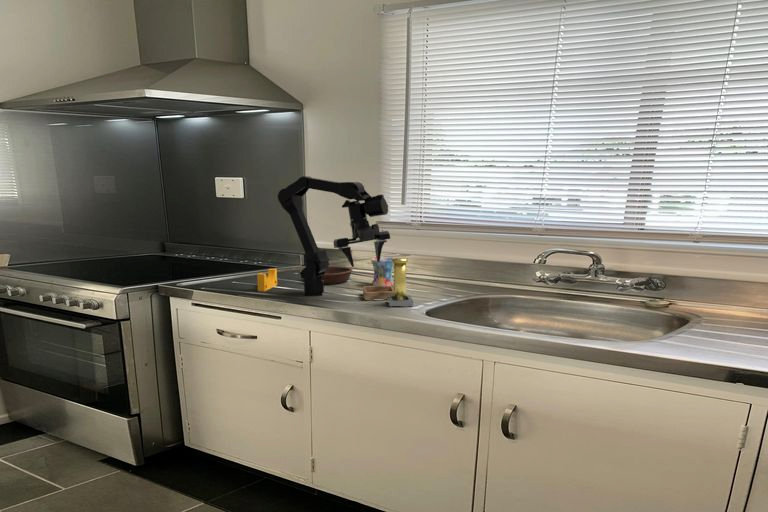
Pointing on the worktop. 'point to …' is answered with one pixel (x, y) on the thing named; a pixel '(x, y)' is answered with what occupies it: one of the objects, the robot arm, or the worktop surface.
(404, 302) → the block
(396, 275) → the pin
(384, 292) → the tray
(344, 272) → the dish
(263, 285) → the pipe clamp
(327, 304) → the worktop surface
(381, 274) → the mug
